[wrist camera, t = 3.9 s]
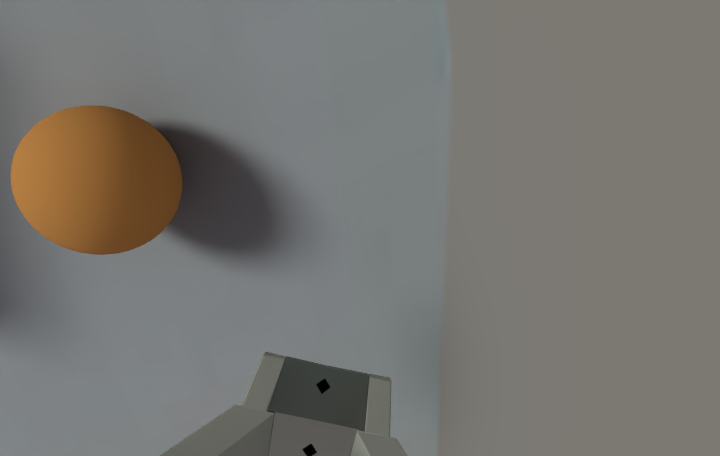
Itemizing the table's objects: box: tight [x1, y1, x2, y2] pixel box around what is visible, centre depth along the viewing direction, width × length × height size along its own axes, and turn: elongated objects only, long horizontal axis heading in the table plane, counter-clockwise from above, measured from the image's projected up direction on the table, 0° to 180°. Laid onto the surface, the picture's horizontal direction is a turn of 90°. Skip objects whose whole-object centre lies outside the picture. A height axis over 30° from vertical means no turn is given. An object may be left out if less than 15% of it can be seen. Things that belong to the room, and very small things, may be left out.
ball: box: [11, 106, 183, 255], centre depth 17 cm, size 6×6×6 cm
